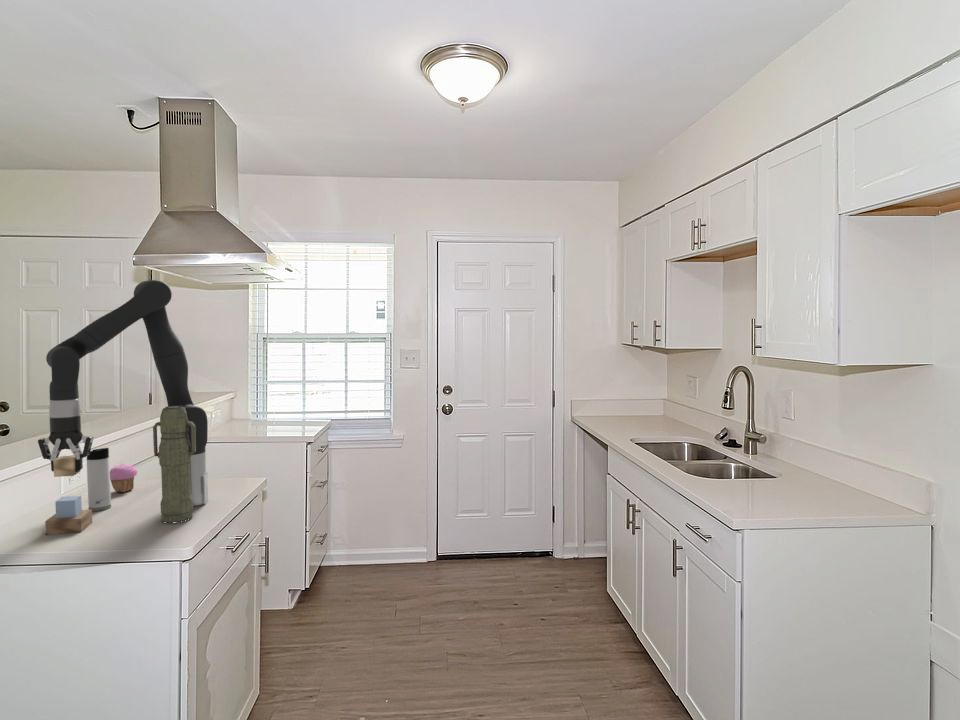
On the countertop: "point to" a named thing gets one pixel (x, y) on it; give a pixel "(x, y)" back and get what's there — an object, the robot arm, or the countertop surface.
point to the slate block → (68, 506)
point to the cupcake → (123, 477)
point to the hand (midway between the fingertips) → (67, 471)
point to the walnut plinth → (69, 523)
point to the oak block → (64, 466)
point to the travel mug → (98, 479)
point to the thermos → (175, 463)
